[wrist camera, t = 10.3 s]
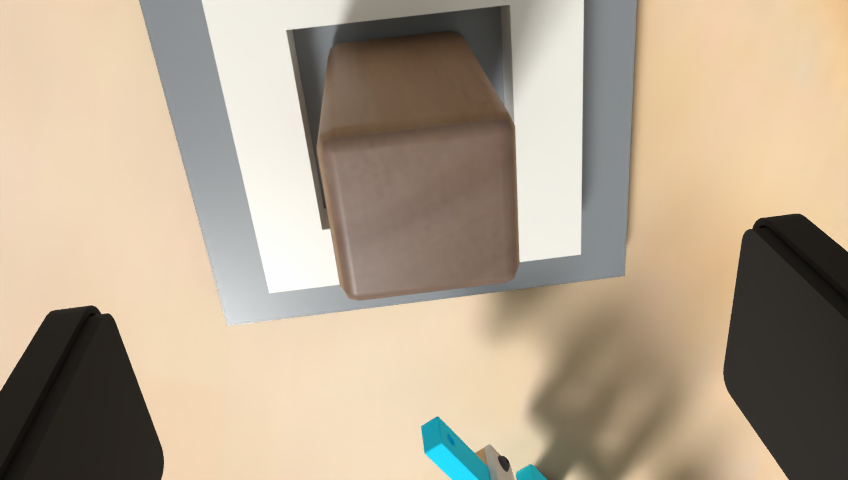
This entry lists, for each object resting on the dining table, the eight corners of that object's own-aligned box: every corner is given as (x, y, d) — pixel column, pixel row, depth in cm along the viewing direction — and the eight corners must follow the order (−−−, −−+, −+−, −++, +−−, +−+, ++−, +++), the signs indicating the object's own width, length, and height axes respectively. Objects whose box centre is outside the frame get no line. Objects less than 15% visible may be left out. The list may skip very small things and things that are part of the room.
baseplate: (116, -125, 19) (86, -122, 17) (632, -180, 20) (667, -184, 18) (231, 310, 26) (219, 352, 24) (615, 261, 27) (639, 298, 24)
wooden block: (471, 154, 23) (523, 287, 16) (345, 169, 23) (341, 310, 16) (463, 26, 21) (518, 113, 14) (326, 41, 21) (312, 137, 14)
